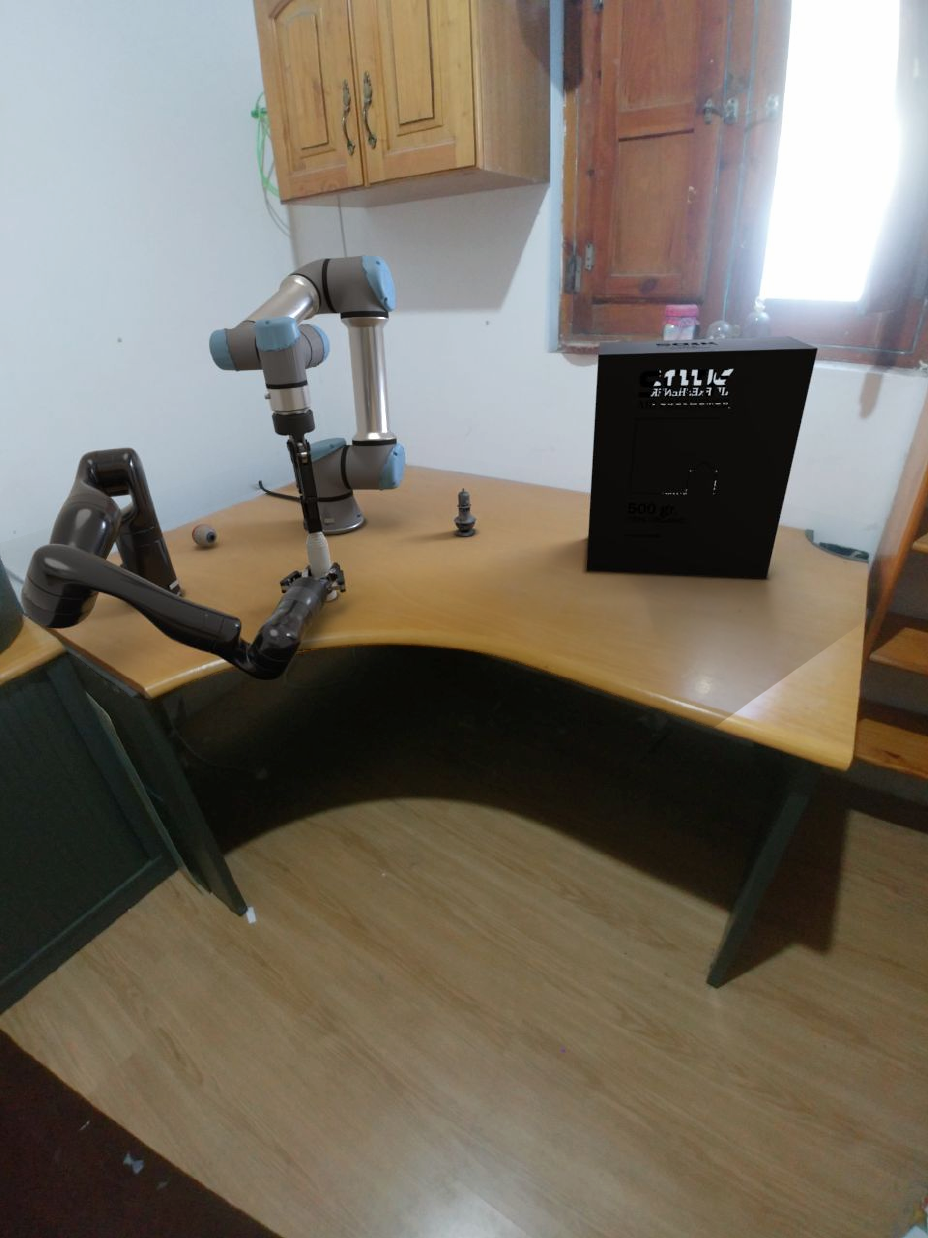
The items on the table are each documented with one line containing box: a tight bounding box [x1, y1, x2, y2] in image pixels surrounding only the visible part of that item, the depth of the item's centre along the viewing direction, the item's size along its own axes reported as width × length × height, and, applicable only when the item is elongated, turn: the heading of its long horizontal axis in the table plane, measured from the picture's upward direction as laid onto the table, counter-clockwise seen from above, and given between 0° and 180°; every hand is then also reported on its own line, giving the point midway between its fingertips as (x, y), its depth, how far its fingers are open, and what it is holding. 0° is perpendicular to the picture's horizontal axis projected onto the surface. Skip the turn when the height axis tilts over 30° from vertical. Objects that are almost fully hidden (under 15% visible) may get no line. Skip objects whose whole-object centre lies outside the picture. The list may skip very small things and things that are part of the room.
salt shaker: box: [453, 487, 477, 537], centre depth 157 cm, size 6×6×12 cm
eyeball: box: [191, 523, 218, 548], centre depth 159 cm, size 6×6×6 cm
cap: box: [302, 517, 323, 532], centre depth 123 cm, size 4×4×2 cm
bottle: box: [305, 531, 338, 602], centre depth 127 cm, size 4×4×18 cm
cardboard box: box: [585, 335, 819, 580], centre depth 129 cm, size 38×20×45 cm, turn 78°
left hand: (325, 566), depth 131 cm, fingers closed on bottle, 4 cm apart
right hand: (313, 528), depth 124 cm, fingers closed on cap, 4 cm apart
